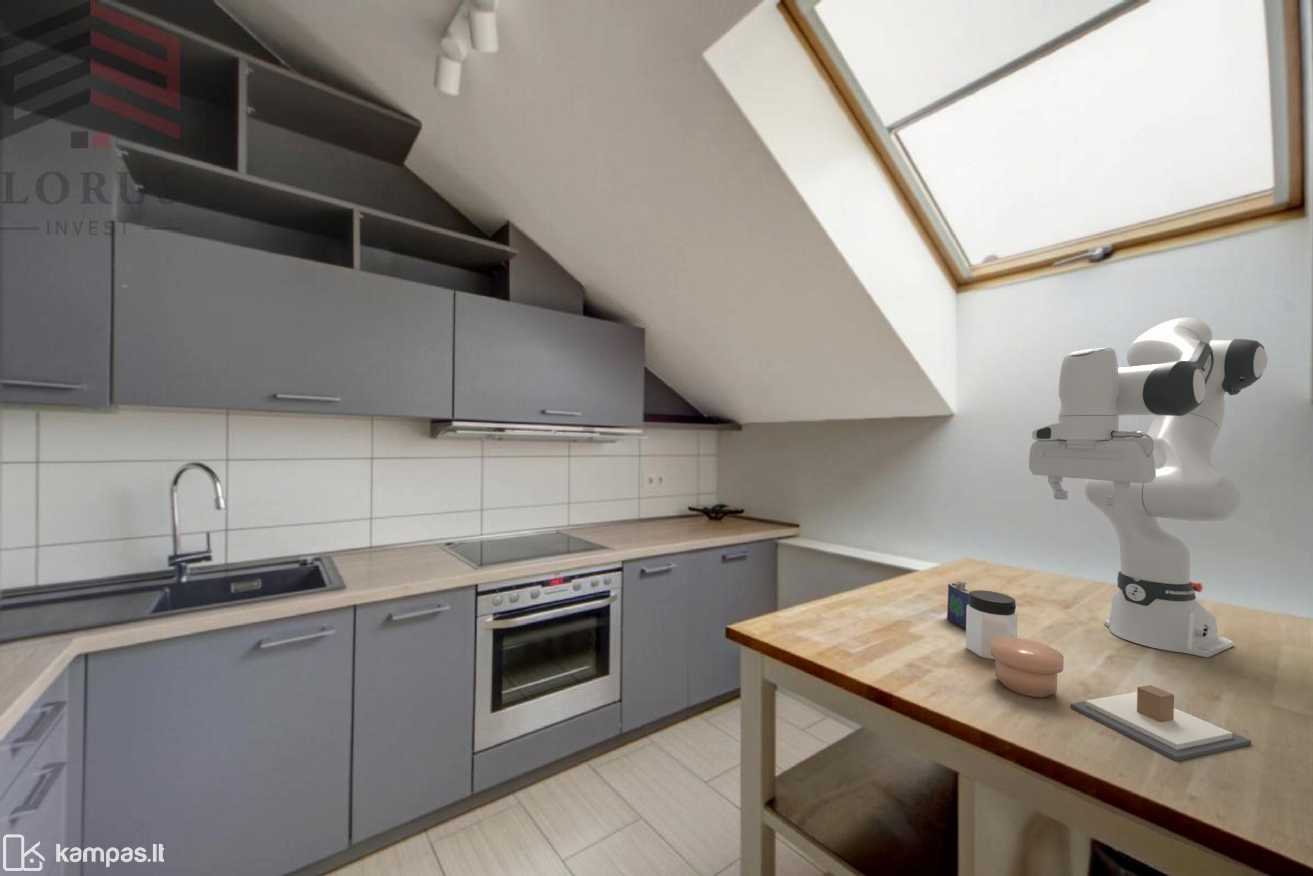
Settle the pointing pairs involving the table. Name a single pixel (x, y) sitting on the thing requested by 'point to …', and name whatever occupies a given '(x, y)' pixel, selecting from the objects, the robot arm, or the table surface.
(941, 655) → the table surface
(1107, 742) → the table surface
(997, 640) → the pink lidded container
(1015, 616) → the jar
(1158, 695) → the lid
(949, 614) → the flask
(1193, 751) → the mat
